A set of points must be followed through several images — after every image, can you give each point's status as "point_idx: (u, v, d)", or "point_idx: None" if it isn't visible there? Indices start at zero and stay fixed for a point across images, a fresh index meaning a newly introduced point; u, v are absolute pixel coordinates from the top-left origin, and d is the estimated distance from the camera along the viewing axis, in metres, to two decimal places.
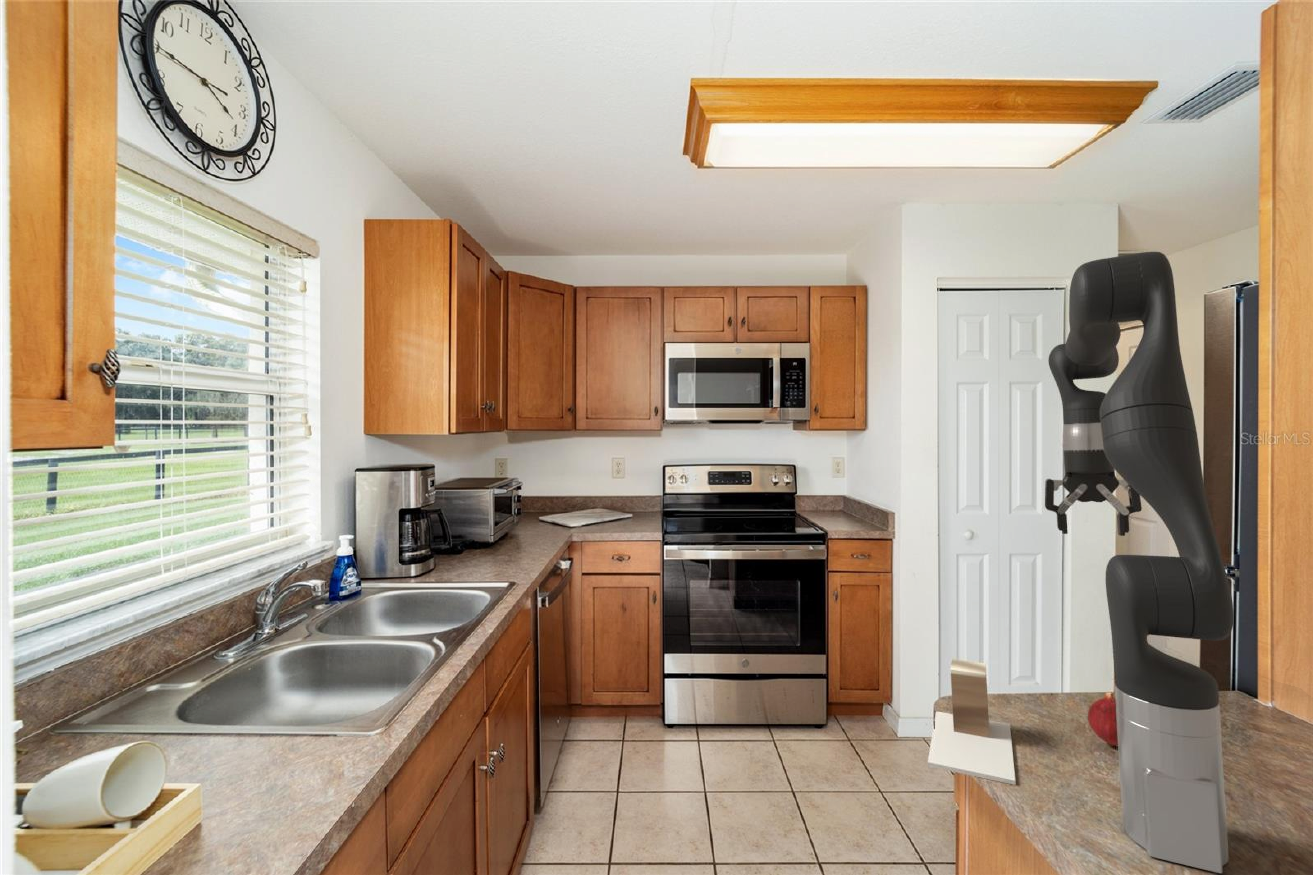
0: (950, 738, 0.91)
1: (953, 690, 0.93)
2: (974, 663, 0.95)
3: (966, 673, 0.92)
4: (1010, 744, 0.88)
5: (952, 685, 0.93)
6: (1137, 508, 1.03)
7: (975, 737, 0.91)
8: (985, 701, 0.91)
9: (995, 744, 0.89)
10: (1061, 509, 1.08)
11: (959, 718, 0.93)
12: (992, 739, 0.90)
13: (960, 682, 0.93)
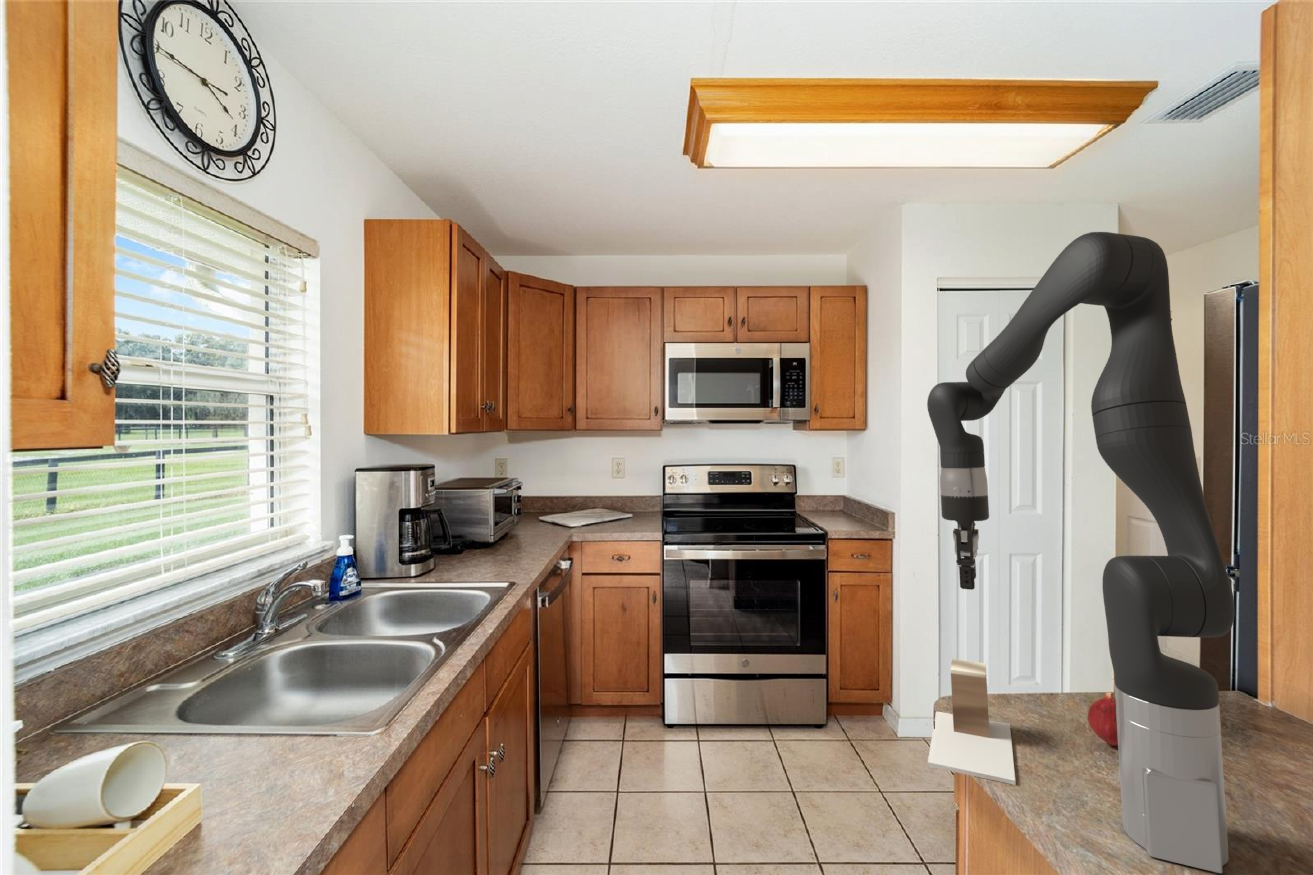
0: (950, 738, 0.91)
1: (953, 690, 0.93)
2: (974, 663, 0.95)
3: (966, 673, 0.92)
4: (1010, 744, 0.88)
5: (952, 685, 0.93)
6: None
7: (975, 737, 0.91)
8: (985, 701, 0.91)
9: (995, 744, 0.89)
10: None
11: (959, 718, 0.93)
12: (992, 739, 0.90)
13: (960, 682, 0.93)
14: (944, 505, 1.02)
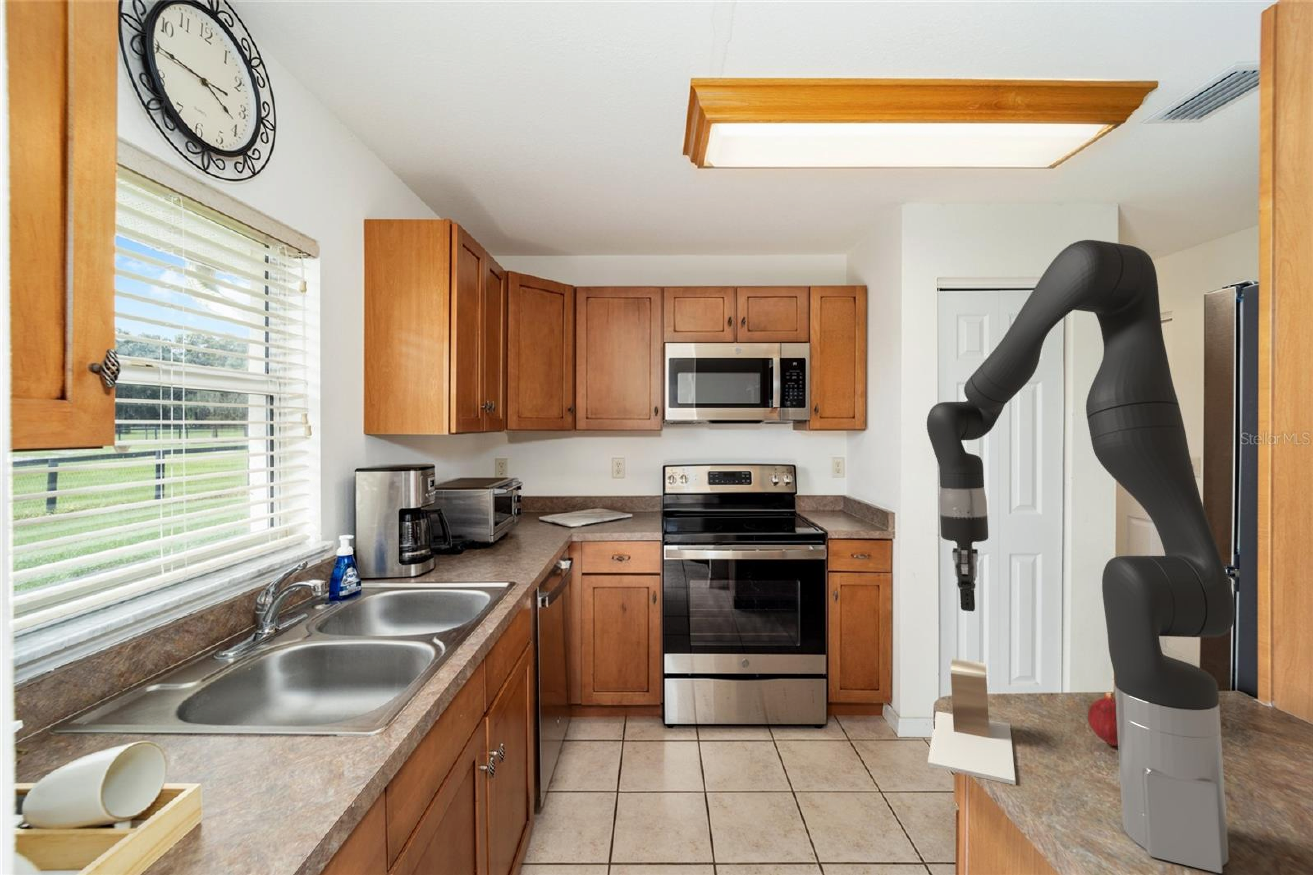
0: (950, 738, 0.91)
1: (953, 690, 0.93)
2: (974, 663, 0.95)
3: (966, 673, 0.92)
4: (1010, 744, 0.88)
5: (952, 685, 0.93)
6: None
7: (975, 737, 0.91)
8: (985, 701, 0.91)
9: (995, 744, 0.89)
10: None
11: (959, 718, 0.93)
12: (992, 739, 0.90)
13: (960, 682, 0.93)
14: (943, 525, 1.02)
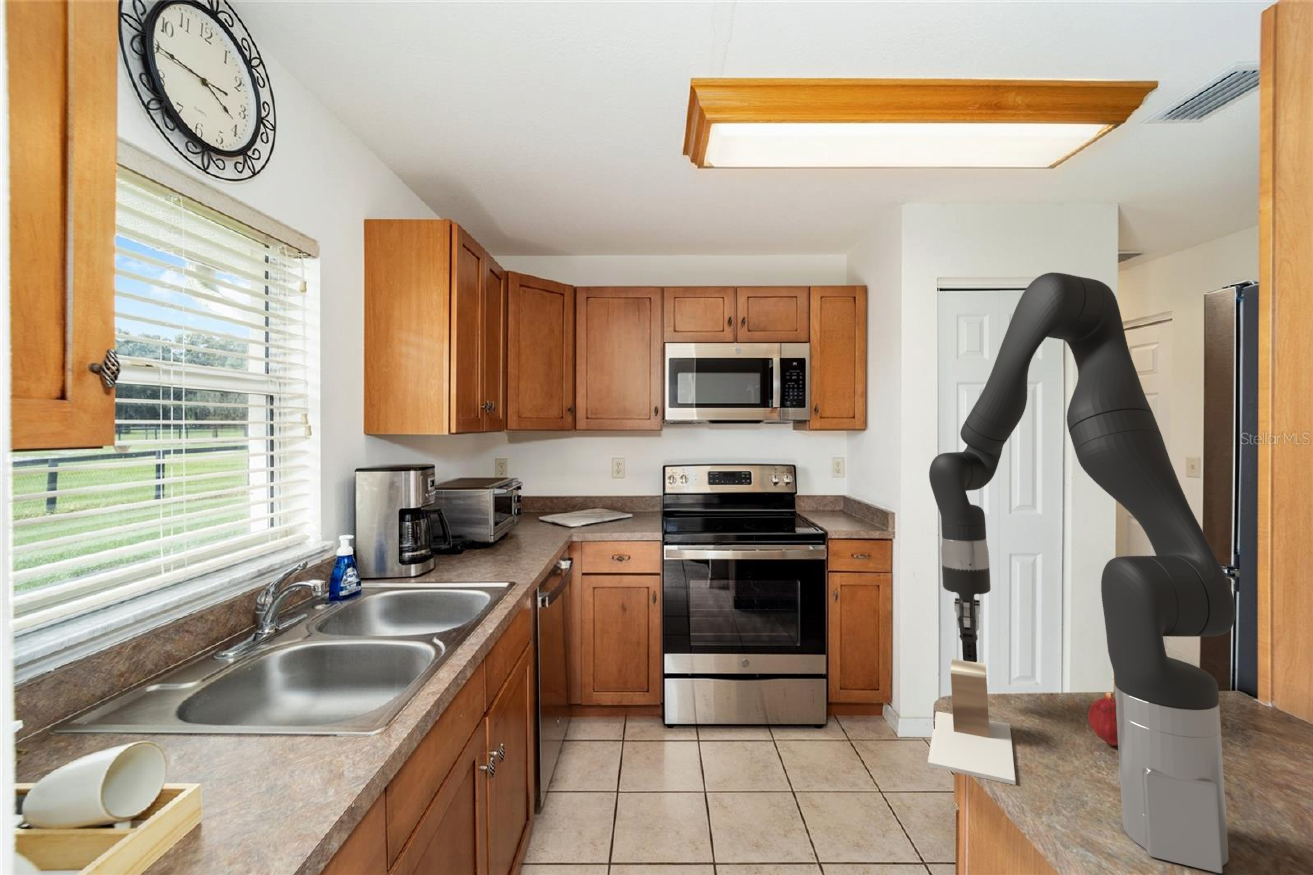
0: (950, 738, 0.91)
1: (953, 690, 0.93)
2: (974, 663, 0.95)
3: (966, 673, 0.92)
4: (1010, 744, 0.88)
5: (952, 685, 0.93)
6: None
7: (975, 737, 0.91)
8: (985, 701, 0.91)
9: (995, 744, 0.89)
10: (976, 637, 1.00)
11: (959, 718, 0.93)
12: (992, 739, 0.90)
13: (960, 682, 0.93)
14: (945, 576, 1.02)
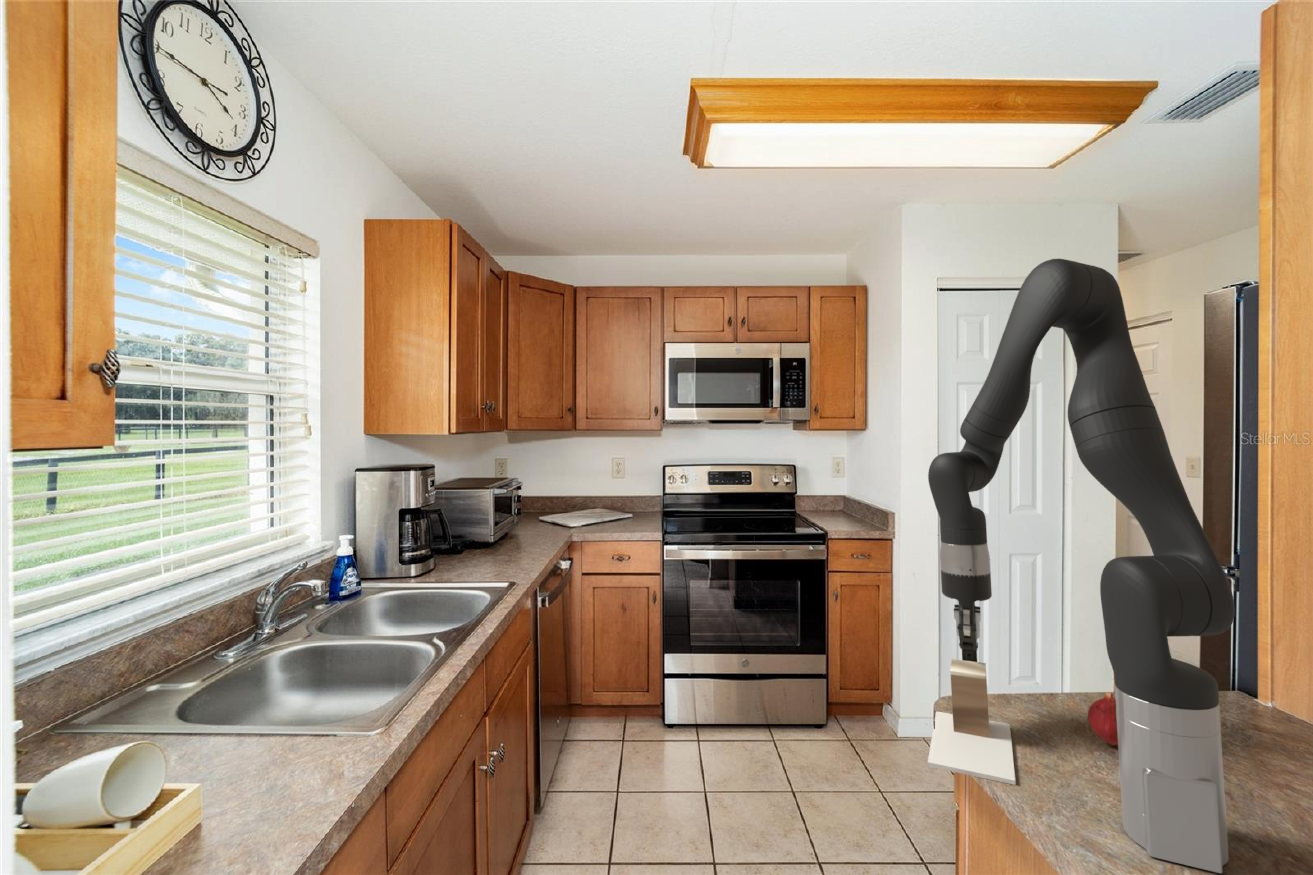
0: (950, 738, 0.91)
1: (953, 691, 0.93)
2: (974, 663, 0.95)
3: (966, 674, 0.92)
4: (1010, 744, 0.88)
5: (952, 686, 0.93)
6: None
7: (975, 737, 0.91)
8: (985, 702, 0.91)
9: (995, 744, 0.89)
10: None
11: (959, 719, 0.93)
12: (992, 739, 0.90)
13: (960, 683, 0.92)
14: (944, 581, 0.97)
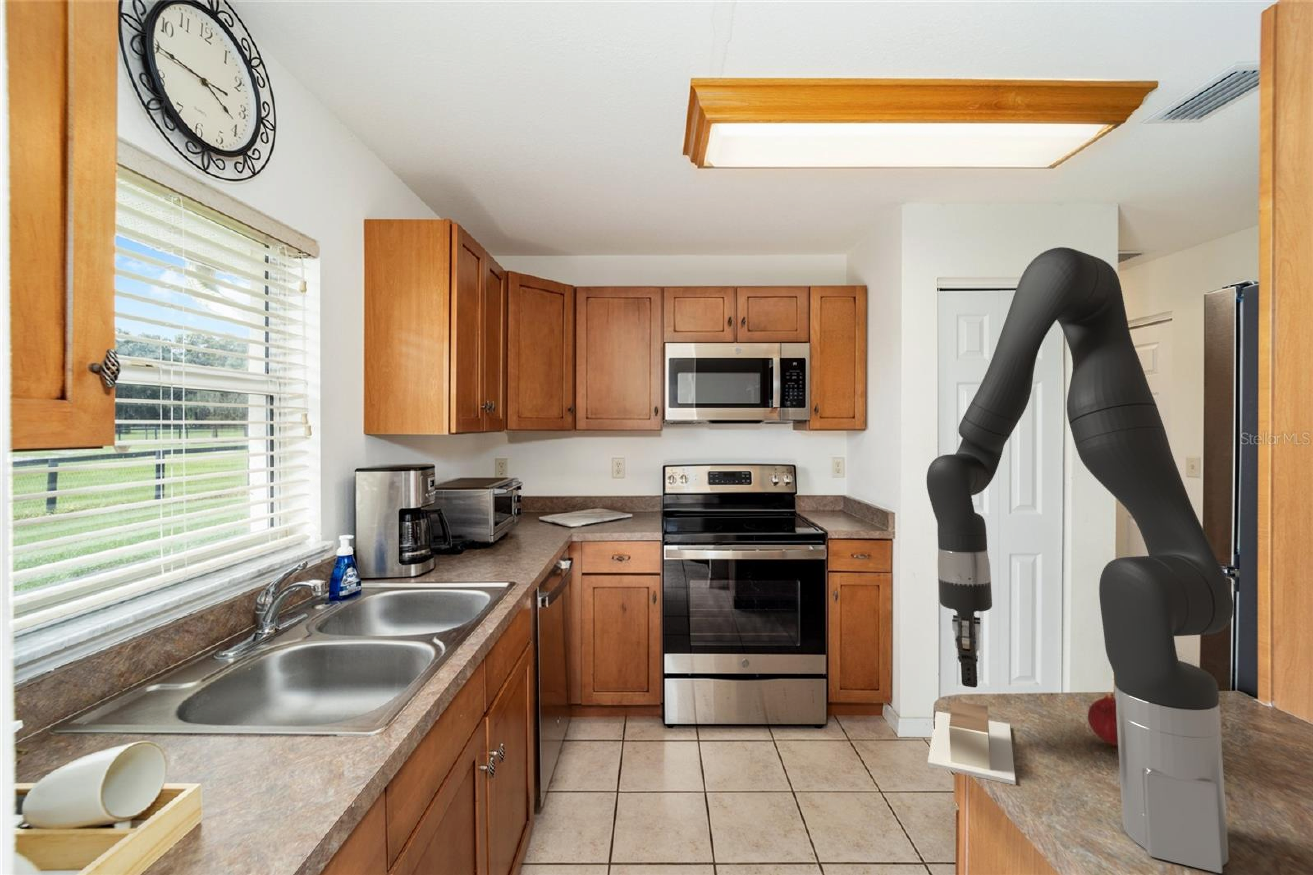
0: None
1: None
2: (975, 737, 0.83)
3: (968, 764, 0.83)
4: (1010, 744, 0.88)
5: None
6: None
7: None
8: None
9: (995, 744, 0.89)
10: (976, 659, 0.91)
11: None
12: (992, 739, 0.90)
13: None
14: (942, 591, 0.92)
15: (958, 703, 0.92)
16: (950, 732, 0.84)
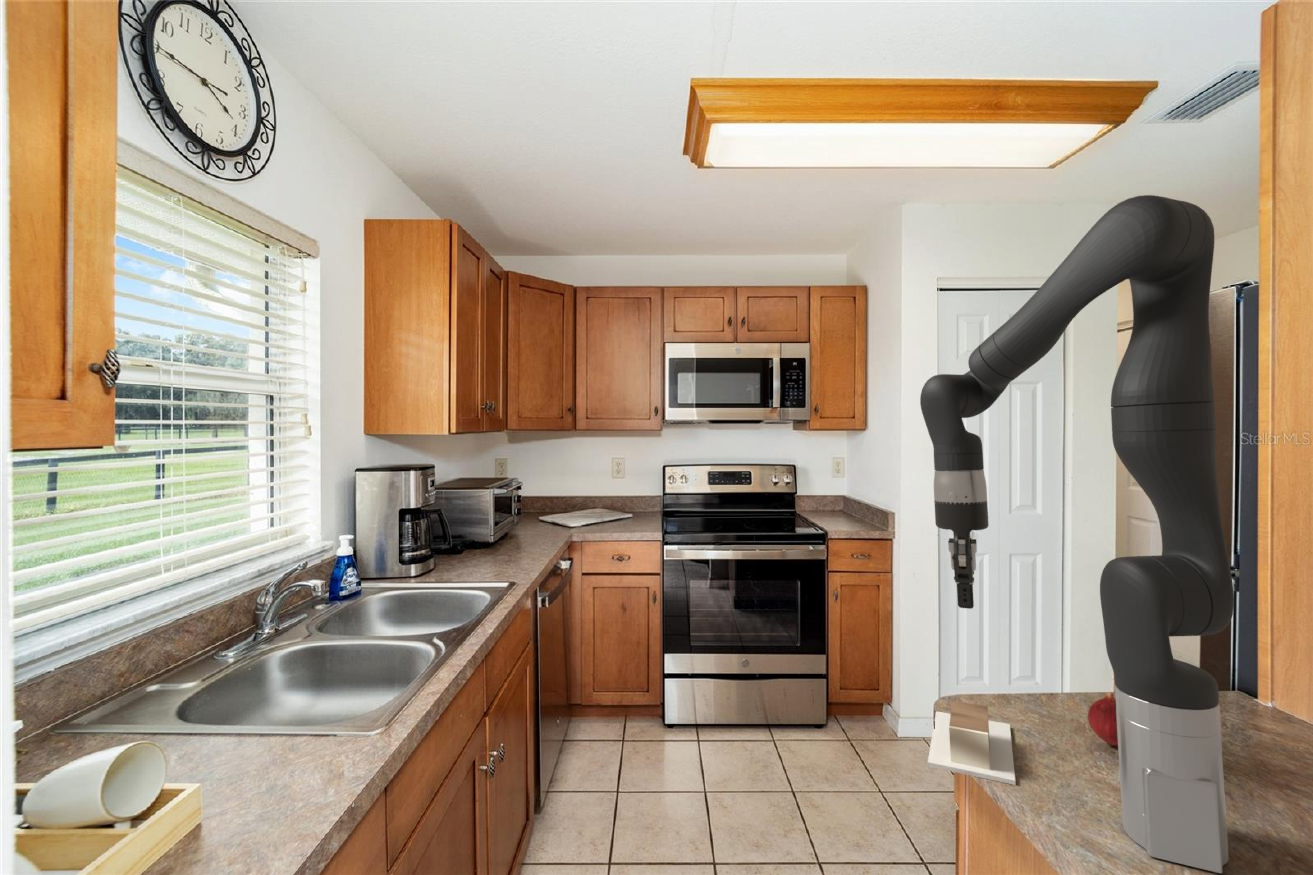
0: None
1: None
2: (975, 737, 0.83)
3: (968, 764, 0.83)
4: (1010, 744, 0.88)
5: None
6: (973, 572, 0.93)
7: None
8: None
9: (995, 744, 0.89)
10: None
11: None
12: (992, 739, 0.90)
13: None
14: (938, 512, 0.91)
15: (958, 703, 0.92)
16: (950, 732, 0.84)
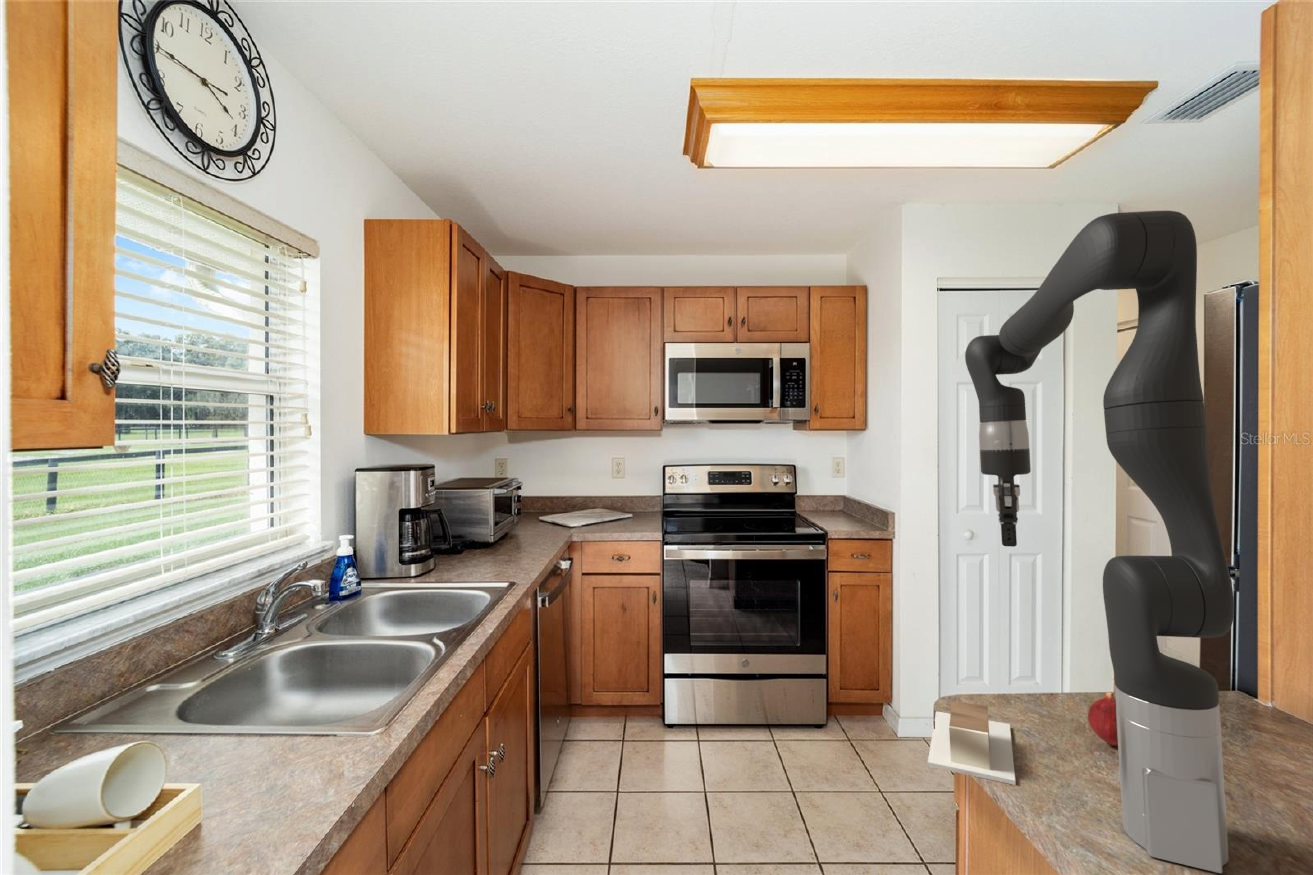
0: None
1: None
2: (975, 737, 0.83)
3: (968, 764, 0.83)
4: (1010, 744, 0.88)
5: None
6: None
7: None
8: None
9: (995, 744, 0.89)
10: None
11: None
12: (992, 739, 0.90)
13: None
14: (984, 459, 1.01)
15: (958, 703, 0.92)
16: (950, 732, 0.84)
